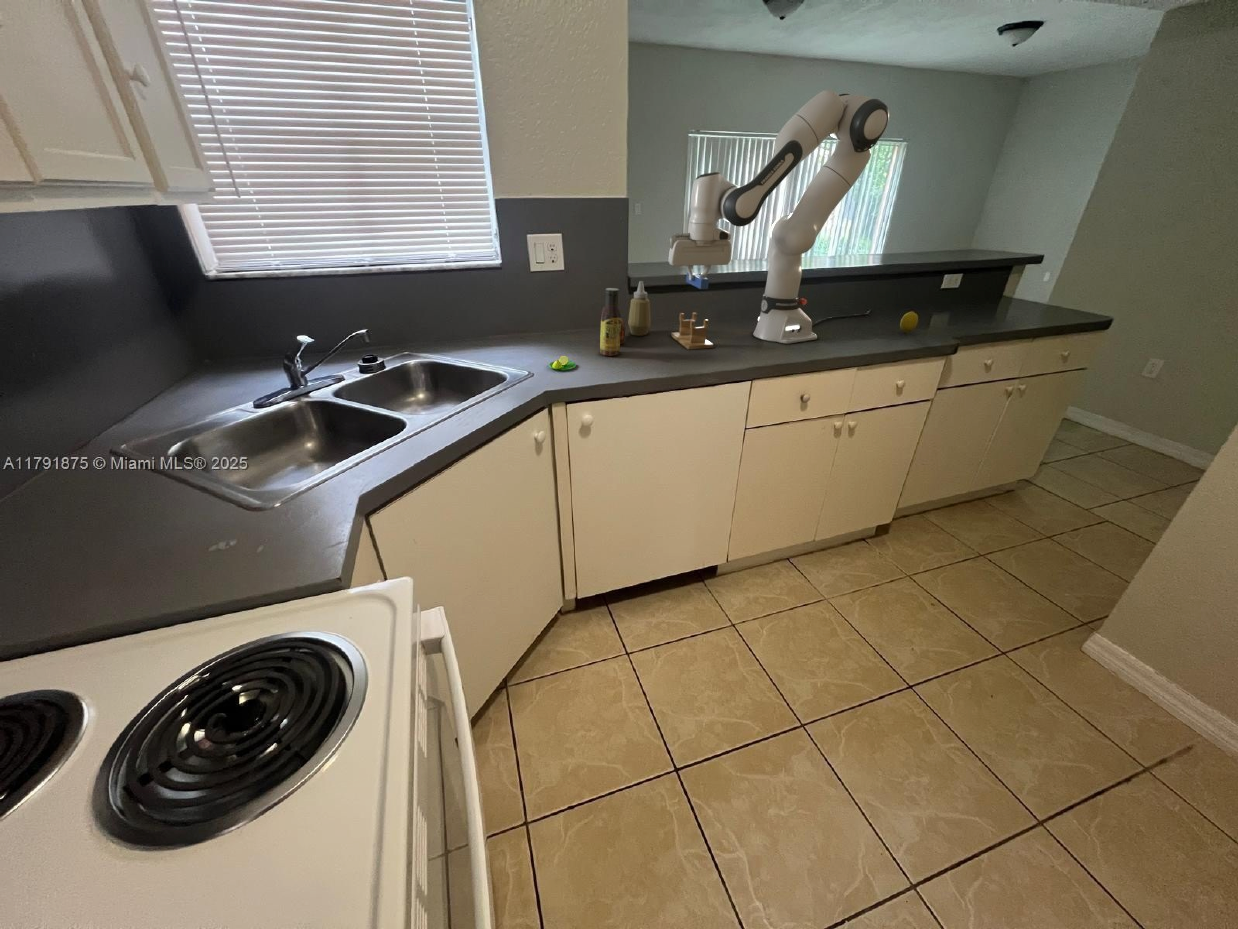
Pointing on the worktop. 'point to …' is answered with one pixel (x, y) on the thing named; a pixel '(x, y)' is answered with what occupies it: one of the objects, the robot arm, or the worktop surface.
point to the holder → (692, 334)
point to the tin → (622, 332)
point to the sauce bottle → (610, 324)
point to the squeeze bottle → (639, 312)
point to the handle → (698, 281)
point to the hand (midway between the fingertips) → (697, 279)
